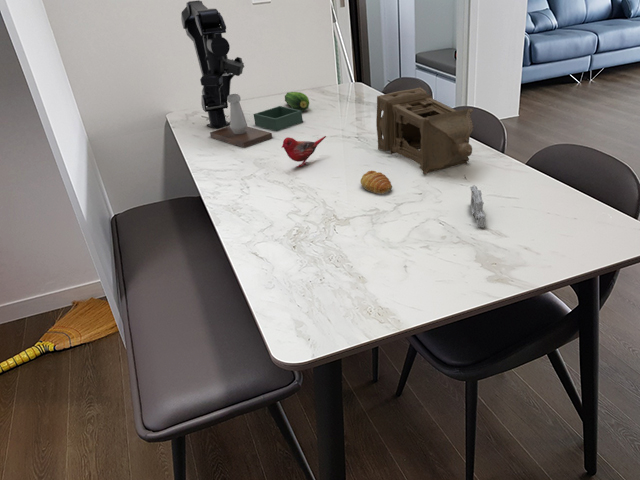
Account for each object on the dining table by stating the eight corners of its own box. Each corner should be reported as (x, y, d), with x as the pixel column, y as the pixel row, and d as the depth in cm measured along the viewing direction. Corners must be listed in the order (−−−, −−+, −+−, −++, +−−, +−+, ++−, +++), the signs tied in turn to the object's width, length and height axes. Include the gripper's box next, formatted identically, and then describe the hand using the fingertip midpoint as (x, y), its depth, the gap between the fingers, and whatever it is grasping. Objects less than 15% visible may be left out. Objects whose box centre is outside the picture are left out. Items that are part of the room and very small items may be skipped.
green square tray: (255, 125, 199) (253, 114, 196) (281, 117, 206) (279, 105, 204) (276, 131, 191) (274, 119, 189) (302, 122, 198) (301, 110, 196)
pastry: (398, 190, 139) (398, 177, 137) (377, 198, 137) (376, 184, 135) (378, 180, 146) (378, 167, 144) (357, 186, 144) (356, 173, 142)
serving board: (210, 137, 190) (209, 132, 189) (238, 128, 197) (237, 123, 196) (244, 147, 177) (243, 142, 177) (272, 138, 185) (271, 132, 184)
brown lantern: (489, 182, 146) (502, 115, 138) (435, 189, 139) (446, 118, 130) (419, 145, 173) (427, 86, 164) (371, 149, 166) (377, 88, 157)
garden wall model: (485, 228, 119) (487, 204, 116) (477, 228, 119) (478, 204, 116) (476, 205, 129) (477, 182, 126) (468, 205, 129) (470, 182, 126)
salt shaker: (232, 130, 189) (225, 93, 182) (248, 129, 189) (242, 91, 182) (230, 135, 184) (223, 97, 177) (247, 134, 184) (240, 95, 177)
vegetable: (296, 92, 203) (283, 82, 219) (290, 110, 205) (277, 99, 222) (314, 98, 207) (299, 88, 223) (307, 116, 209) (294, 105, 225)
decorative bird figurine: (281, 172, 156) (277, 139, 151) (324, 154, 167) (321, 122, 162) (288, 174, 154) (283, 140, 149) (331, 156, 165) (328, 124, 160)
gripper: (229, 56, 164) (238, 107, 172) (246, 45, 180) (254, 92, 188) (195, 58, 166) (205, 108, 174) (215, 47, 181) (223, 93, 189)
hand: (223, 100), depth 181 cm, fingers open, 9 cm apart
